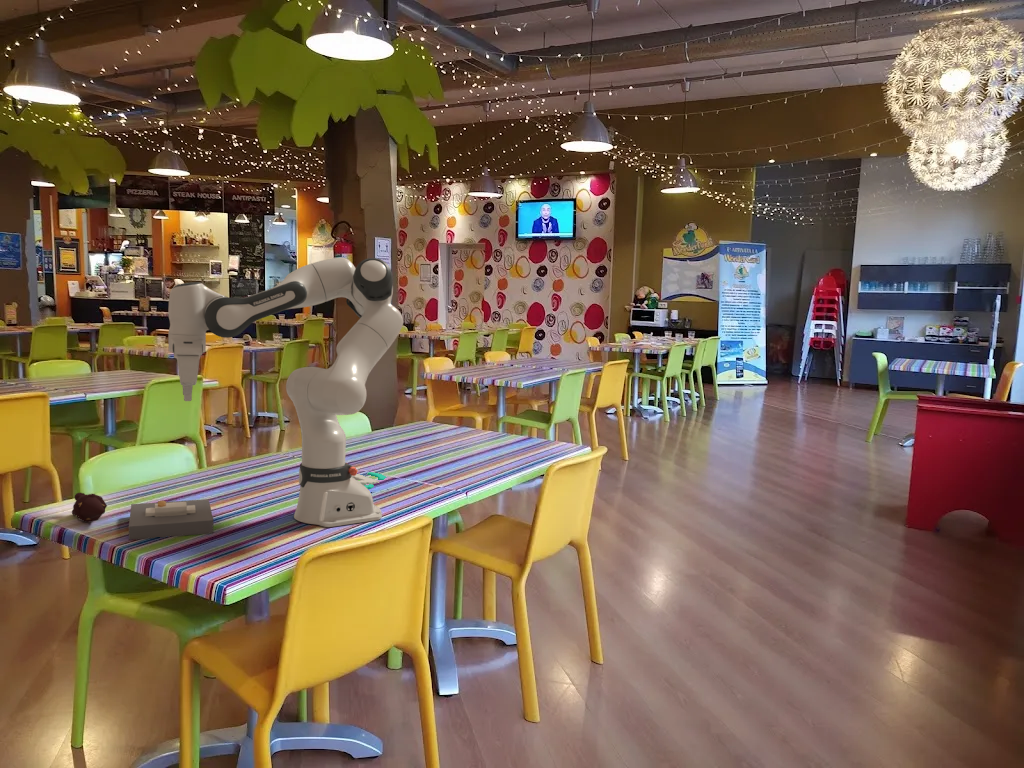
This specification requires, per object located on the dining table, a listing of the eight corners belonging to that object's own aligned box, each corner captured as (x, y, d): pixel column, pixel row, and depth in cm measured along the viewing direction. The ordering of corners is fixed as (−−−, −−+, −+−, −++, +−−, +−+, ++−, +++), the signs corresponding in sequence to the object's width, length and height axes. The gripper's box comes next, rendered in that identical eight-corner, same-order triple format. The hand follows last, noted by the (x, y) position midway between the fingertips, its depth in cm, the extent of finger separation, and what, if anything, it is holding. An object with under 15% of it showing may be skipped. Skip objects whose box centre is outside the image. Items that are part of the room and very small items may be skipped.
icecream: (122, 498, 180) (93, 490, 189) (91, 496, 174) (63, 488, 183) (116, 527, 179) (88, 518, 188) (85, 526, 173) (56, 516, 182)
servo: (194, 520, 186) (195, 497, 185) (195, 525, 182) (195, 501, 182) (146, 524, 181) (146, 500, 181) (145, 529, 178) (145, 504, 177)
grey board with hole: (208, 511, 194) (208, 499, 194) (213, 533, 178) (213, 520, 178) (131, 516, 186) (131, 504, 186) (128, 540, 170) (128, 526, 170)
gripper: (173, 341, 200) (173, 392, 201) (174, 348, 181) (174, 404, 183) (198, 341, 202) (198, 391, 204) (202, 349, 184) (202, 404, 186)
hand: (187, 397), depth 193 cm, fingers open, 8 cm apart
